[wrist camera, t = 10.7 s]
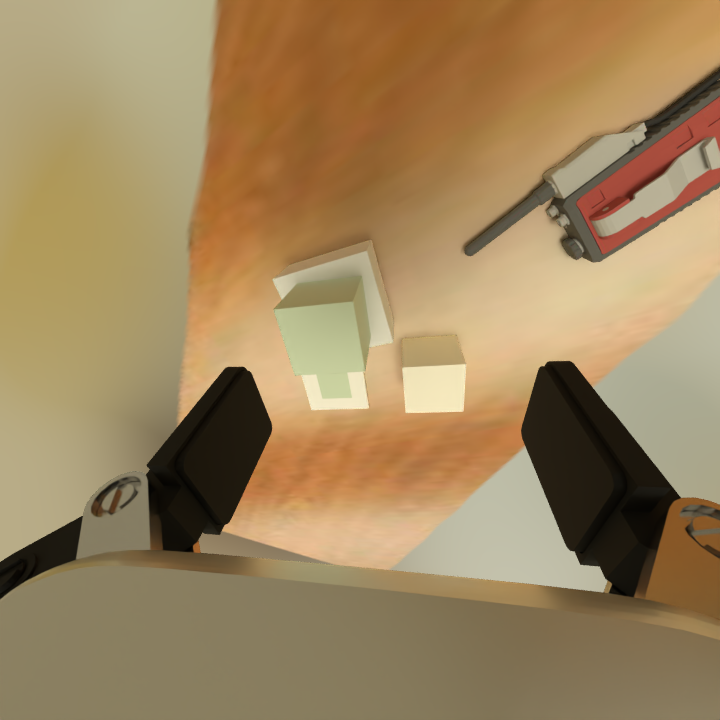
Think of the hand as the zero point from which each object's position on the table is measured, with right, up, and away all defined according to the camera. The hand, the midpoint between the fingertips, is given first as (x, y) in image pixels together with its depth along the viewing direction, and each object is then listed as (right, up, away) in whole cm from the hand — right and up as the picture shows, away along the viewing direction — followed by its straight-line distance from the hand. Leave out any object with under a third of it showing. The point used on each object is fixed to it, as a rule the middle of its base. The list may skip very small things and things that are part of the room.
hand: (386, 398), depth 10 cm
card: (-4, -2, +29) cm, 29 cm away
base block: (-3, +9, +22) cm, 24 cm away
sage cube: (-3, +6, +18) cm, 19 cm away
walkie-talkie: (+19, +15, +16) cm, 29 cm away
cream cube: (+7, +1, +25) cm, 26 cm away
